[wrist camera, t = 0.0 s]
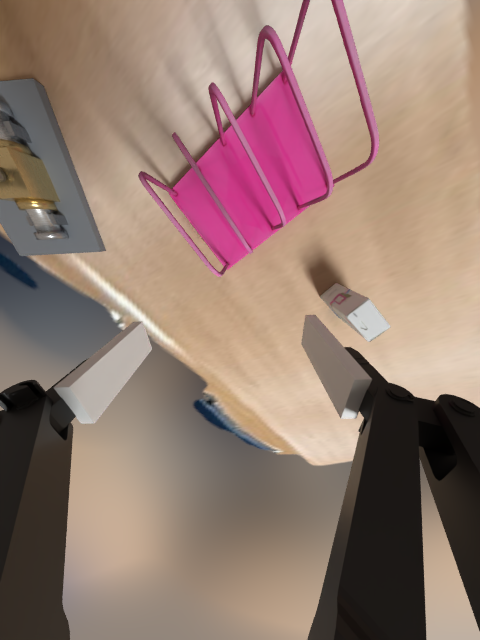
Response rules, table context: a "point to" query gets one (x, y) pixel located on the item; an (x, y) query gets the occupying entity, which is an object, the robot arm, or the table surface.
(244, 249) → the file sorter
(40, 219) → the valve pipe
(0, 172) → the valve lever
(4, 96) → the mounting board
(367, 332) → the ink box
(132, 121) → the table surface
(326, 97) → the table surface
